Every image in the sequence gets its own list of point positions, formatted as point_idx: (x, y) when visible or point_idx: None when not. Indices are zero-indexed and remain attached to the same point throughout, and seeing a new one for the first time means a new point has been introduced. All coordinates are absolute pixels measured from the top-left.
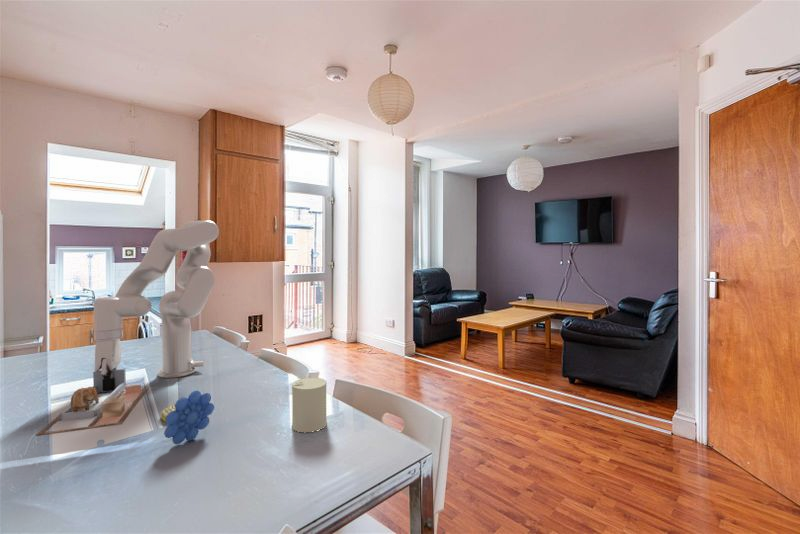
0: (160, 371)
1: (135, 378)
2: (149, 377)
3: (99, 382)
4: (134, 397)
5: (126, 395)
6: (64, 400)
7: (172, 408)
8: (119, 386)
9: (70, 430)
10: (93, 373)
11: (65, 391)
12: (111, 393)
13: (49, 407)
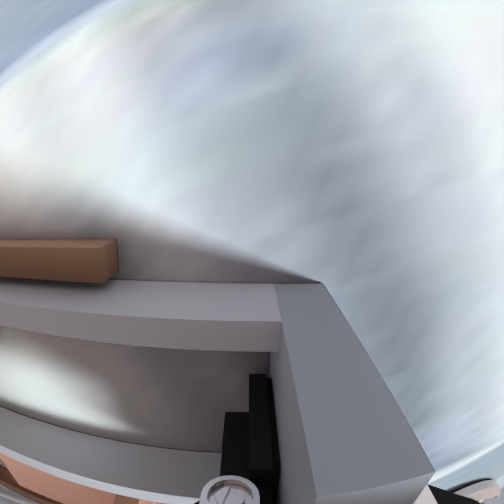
0: (471, 497)
1: (491, 421)
2: (455, 472)
3: (279, 402)
4: (59, 498)
5: (83, 486)
6: (140, 76)
7: None
8: (164, 500)
9: None
10: (306, 473)
11: (432, 17)
12: (27, 458)
13: (20, 62)
